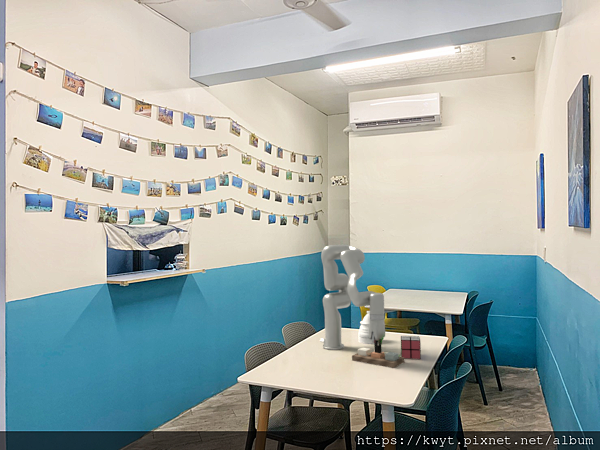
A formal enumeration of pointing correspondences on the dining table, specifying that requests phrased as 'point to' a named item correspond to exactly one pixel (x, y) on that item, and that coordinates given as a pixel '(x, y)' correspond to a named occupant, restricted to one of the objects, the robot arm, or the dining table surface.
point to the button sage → (391, 356)
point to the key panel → (378, 360)
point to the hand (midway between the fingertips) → (378, 352)
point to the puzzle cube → (410, 347)
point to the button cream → (364, 351)
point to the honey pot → (365, 330)
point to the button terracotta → (377, 355)
